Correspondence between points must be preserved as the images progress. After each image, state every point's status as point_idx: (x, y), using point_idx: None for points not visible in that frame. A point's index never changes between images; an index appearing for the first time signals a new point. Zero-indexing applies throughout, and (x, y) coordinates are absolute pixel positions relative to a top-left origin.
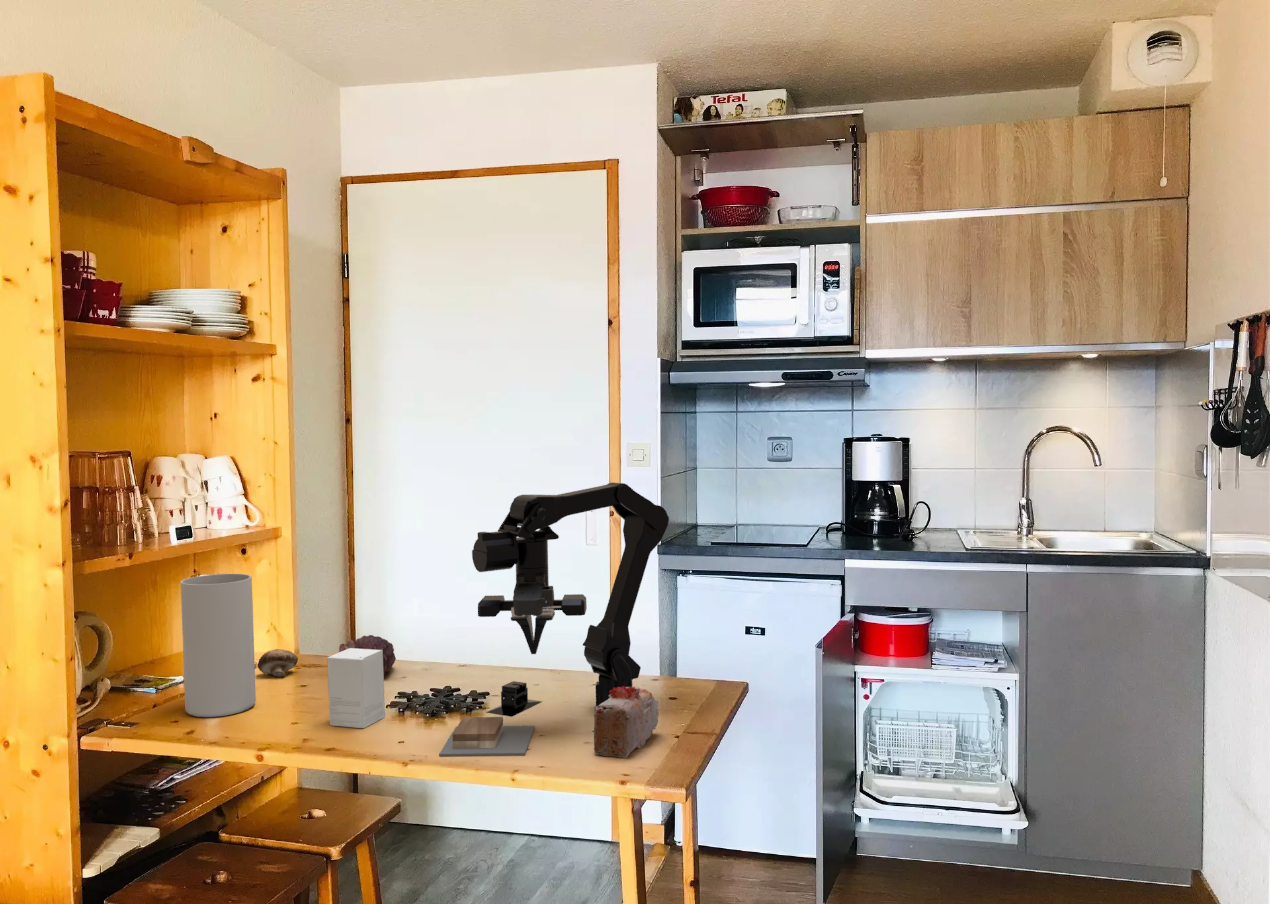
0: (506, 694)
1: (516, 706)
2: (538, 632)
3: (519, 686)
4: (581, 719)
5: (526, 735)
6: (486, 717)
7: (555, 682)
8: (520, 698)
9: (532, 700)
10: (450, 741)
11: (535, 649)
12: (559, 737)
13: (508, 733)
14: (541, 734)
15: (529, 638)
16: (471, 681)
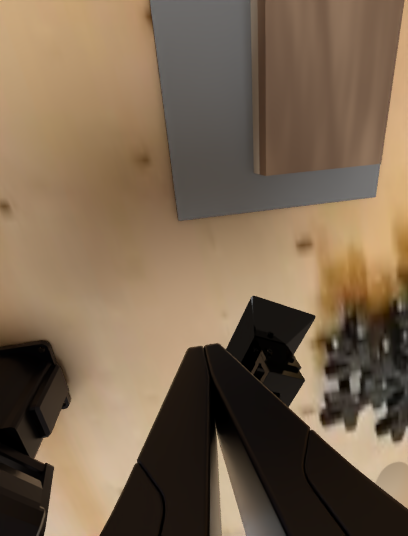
0: (285, 360)
1: (252, 342)
2: (151, 516)
3: None
4: (76, 294)
5: (180, 131)
6: (313, 166)
7: None
8: None
9: None
10: None
11: (190, 363)
12: (86, 142)
13: (235, 147)
14: (146, 166)
15: (257, 420)
16: (358, 466)
